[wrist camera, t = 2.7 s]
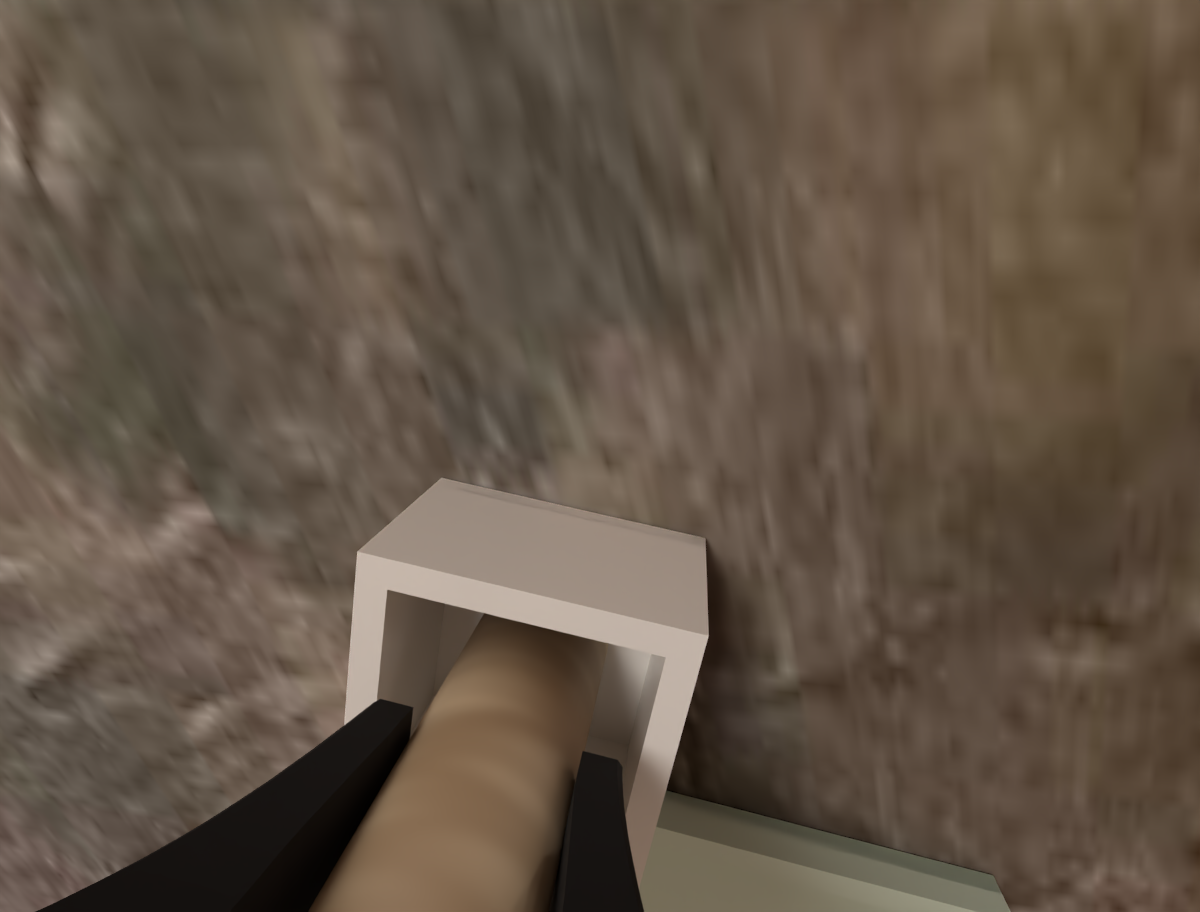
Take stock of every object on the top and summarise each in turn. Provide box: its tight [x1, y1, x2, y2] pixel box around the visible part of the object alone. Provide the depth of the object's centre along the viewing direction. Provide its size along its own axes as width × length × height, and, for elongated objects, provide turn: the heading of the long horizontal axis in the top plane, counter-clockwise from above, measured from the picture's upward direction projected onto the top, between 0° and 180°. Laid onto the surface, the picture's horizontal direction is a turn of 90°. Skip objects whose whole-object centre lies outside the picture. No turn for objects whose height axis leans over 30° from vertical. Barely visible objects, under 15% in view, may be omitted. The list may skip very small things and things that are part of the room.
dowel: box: [308, 613, 608, 912], centre depth 11 cm, size 3×3×9 cm
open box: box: [344, 478, 709, 887], centre depth 14 cm, size 6×6×4 cm
